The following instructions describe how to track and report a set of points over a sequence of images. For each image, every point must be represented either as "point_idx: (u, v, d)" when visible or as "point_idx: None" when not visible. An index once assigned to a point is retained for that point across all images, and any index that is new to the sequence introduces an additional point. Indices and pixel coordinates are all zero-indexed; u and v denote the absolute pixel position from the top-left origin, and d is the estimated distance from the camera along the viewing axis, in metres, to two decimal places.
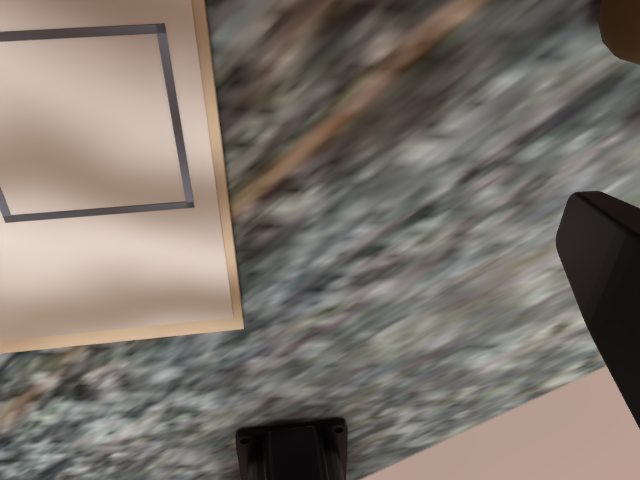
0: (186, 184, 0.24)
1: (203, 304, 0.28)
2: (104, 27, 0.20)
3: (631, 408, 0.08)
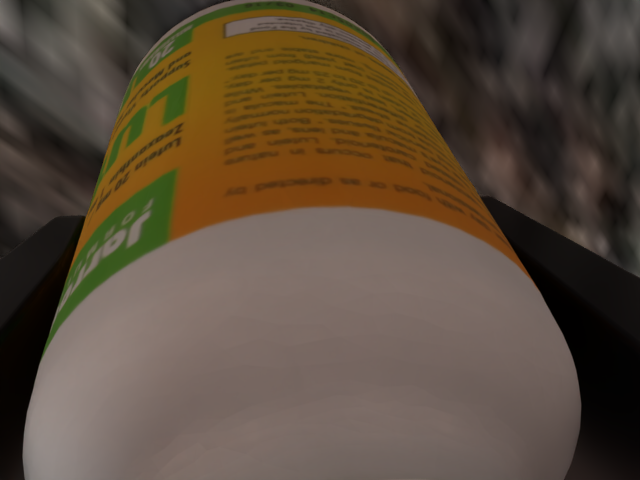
0: None
1: None
2: None
3: None
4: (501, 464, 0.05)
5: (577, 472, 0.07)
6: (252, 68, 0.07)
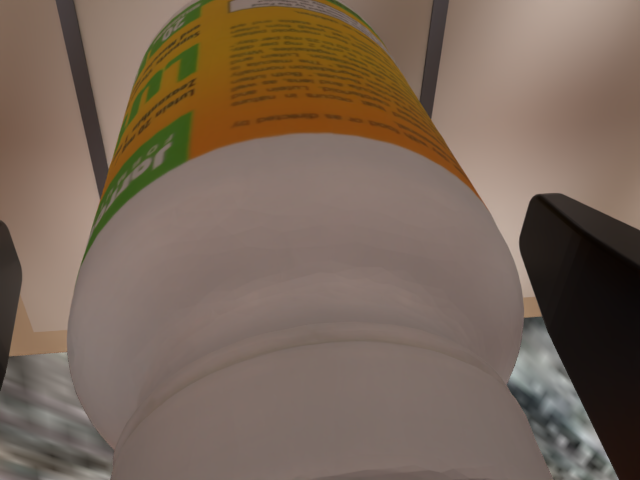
0: None
1: None
2: (62, 24, 0.11)
3: (587, 412, 0.08)
4: (450, 334, 0.06)
5: None
6: (253, 35, 0.08)
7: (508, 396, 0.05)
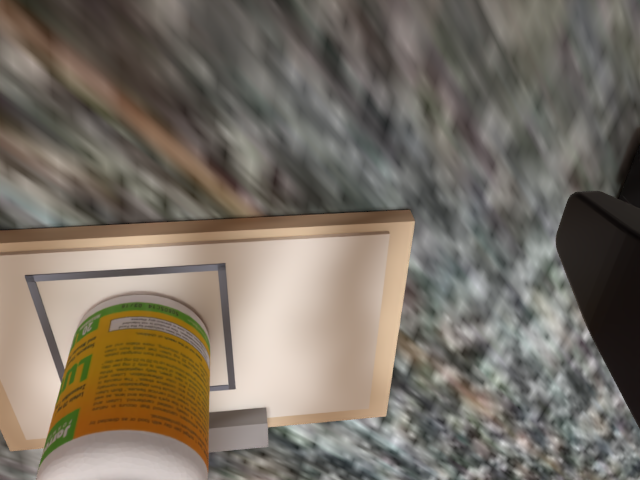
0: (197, 268, 0.23)
1: (361, 261, 0.24)
2: (38, 313, 0.23)
3: (631, 408, 0.08)
4: None
5: None
6: (112, 356, 0.21)
7: None
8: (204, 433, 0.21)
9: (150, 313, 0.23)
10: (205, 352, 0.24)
